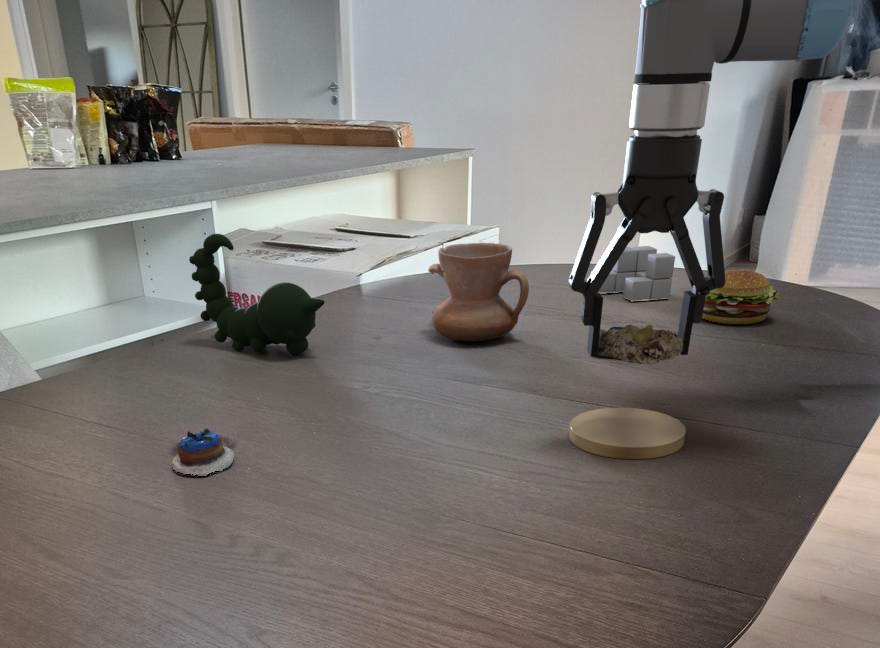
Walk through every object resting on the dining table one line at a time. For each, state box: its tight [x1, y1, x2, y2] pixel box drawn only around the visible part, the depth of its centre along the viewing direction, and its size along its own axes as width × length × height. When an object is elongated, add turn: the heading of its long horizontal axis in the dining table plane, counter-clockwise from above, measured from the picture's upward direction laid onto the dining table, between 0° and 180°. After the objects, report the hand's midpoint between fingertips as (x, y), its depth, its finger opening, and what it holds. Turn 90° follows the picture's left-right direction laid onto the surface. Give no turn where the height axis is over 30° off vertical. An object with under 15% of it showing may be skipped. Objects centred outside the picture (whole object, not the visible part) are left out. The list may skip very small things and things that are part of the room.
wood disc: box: [568, 407, 687, 460], centre depth 105 cm, size 14×14×2 cm
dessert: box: [171, 427, 235, 476], centre depth 102 cm, size 8×7×6 cm
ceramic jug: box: [427, 242, 530, 343], centre depth 143 cm, size 18×14×14 cm
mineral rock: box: [598, 324, 683, 365], centre depth 100 cm, size 11×4×8 cm
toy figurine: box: [188, 233, 326, 356], centre depth 139 cm, size 9×19×25 cm
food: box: [701, 269, 780, 326], centre depth 150 cm, size 14×14×8 cm
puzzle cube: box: [590, 245, 676, 300], centre depth 167 cm, size 12×12×8 cm
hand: (636, 352), depth 100 cm, fingers closed on mineral rock, 10 cm apart
